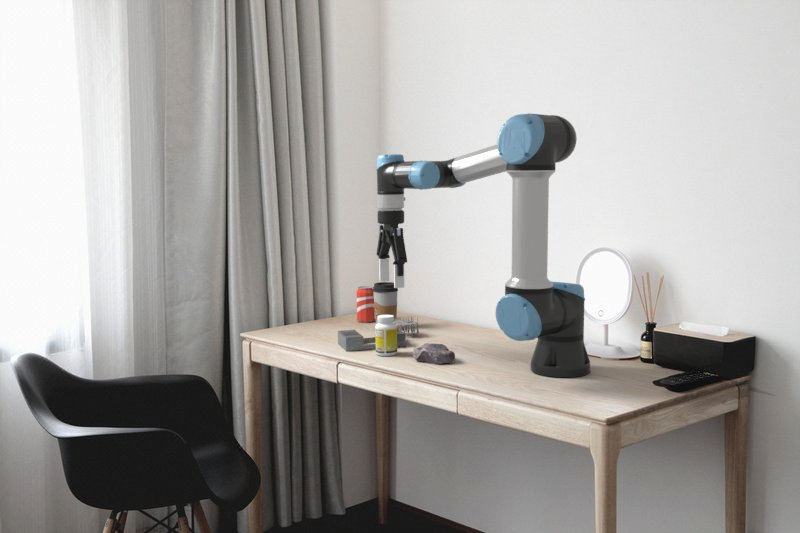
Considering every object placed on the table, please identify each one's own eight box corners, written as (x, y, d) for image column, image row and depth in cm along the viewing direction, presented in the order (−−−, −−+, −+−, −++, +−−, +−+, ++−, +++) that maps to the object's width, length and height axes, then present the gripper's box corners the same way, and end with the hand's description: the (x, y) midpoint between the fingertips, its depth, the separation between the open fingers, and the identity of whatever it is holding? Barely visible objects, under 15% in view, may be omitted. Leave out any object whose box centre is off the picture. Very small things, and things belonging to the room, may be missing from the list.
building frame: (408, 332, 267) (408, 314, 266) (421, 337, 260) (421, 318, 259) (391, 335, 264) (391, 316, 263) (404, 339, 257) (403, 320, 256)
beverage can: (367, 319, 291) (366, 285, 290) (378, 321, 286) (377, 287, 285) (353, 321, 287) (352, 287, 286) (364, 324, 282) (363, 289, 281)
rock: (441, 367, 221) (441, 350, 220) (409, 361, 228) (408, 345, 227) (460, 362, 227) (460, 345, 226) (427, 356, 234) (427, 340, 234)
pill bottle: (398, 351, 239) (397, 314, 238) (396, 356, 233) (395, 317, 232) (377, 351, 240) (376, 313, 238) (374, 356, 234) (373, 317, 232)
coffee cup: (369, 327, 275) (368, 283, 274) (392, 325, 279) (391, 281, 277) (379, 332, 268) (378, 286, 266) (402, 329, 271) (402, 284, 270)
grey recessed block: (405, 346, 246) (405, 333, 245) (346, 351, 241) (345, 337, 240) (395, 339, 256) (394, 326, 256) (338, 343, 251) (337, 330, 251)
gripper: (418, 211, 223) (419, 289, 226) (389, 207, 247) (390, 277, 249) (392, 212, 221) (392, 291, 223) (365, 207, 244) (366, 279, 247)
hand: (391, 284), depth 236 cm, fingers open, 13 cm apart
